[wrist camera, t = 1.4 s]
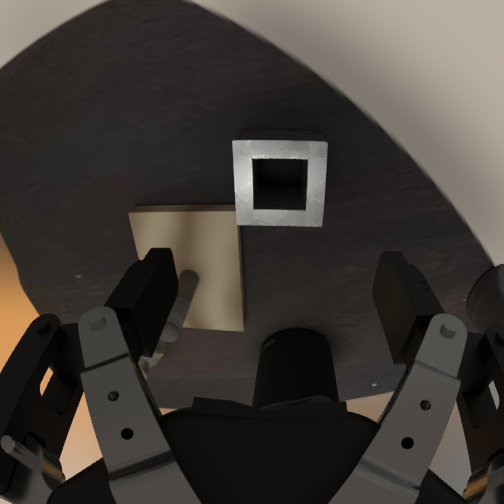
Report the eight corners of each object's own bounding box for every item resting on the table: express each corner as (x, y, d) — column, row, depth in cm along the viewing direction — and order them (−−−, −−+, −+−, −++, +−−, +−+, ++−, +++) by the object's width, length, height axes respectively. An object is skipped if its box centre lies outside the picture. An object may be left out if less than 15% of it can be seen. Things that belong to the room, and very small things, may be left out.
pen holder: (326, 317, 31) (335, 393, 23) (337, 365, 36) (344, 431, 27) (246, 333, 34) (236, 406, 25) (269, 376, 38) (265, 440, 30)
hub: (317, 131, 21) (327, 142, 17) (314, 200, 25) (321, 226, 20) (242, 130, 22) (232, 140, 18) (244, 199, 25) (236, 225, 21)
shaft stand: (239, 204, 25) (218, 266, 17) (245, 321, 33) (234, 392, 25) (135, 206, 26) (82, 260, 18) (162, 315, 34) (135, 379, 26)
